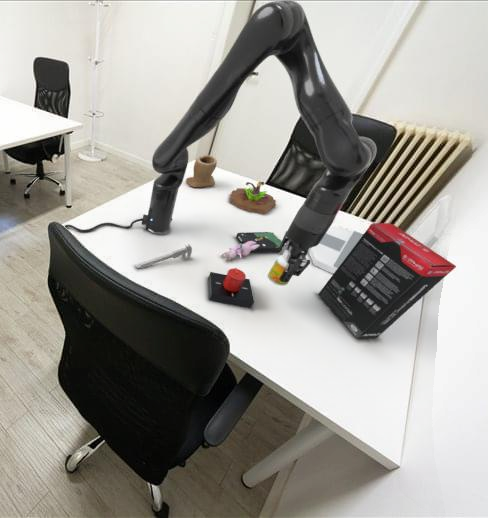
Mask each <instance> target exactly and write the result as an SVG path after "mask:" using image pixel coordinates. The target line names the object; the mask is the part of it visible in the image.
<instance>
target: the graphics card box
mask: <svg viewBox="0 0 488 518" xmlns="http://www.w3.org/2000/svg"><path fill="white" fill-rule="evenodd" d="M362 234H363V236H362V237H361V238H360V240H359V241H358V242H357V244H356V245H355V246H354V248H353V249H352V250H351V252H350V253H349V254H348V256H347V257H346V258H345V260H344V261H343V262H342V264H341V265H340V266H339V267H338V269H337V270H336V271H335V273H334V274H333V273H332V275H331V276H330V278H329V279H328V280H327V281H326V283H325V285H324V286H323V287H322V289H321V290H320V291H319V292H318V296H319V298H320V299H322V300H323V302H324V303H325V304H326V305H327V306H328V307H329V309H330V310H331V311H332V312H333V313H334V315H335V316H337V318H338V319H339V320H340V321H341V323H342V324H343V325H344V326H345V327H346V328H347V330H348V331H349V332H350V333H351V334H352V335H353V337H354V338H356V339H358V340H359V339H377V338H379V337H380V336H381V335H382V334H384V332H386V331H387V329H389V328H390V327H391V326H392V325H393V324H394V323H395V322H397V321H398V320H399V319H400V318H401V317H402V316H403V315H404V314H405V313H406V312H407V311H409V310H410V309H411V308H412V307H413V306H414V305H415V304H417V302H419V301H420V300H421V299H422V298H423V297H424V296H425V295H427V293H429V292H430V291H431V290H432V289H433V288H434V287H435V286H436V285H438V284H439V283H440V282H441V281H442V280H443V279H444V278H446V277H447V276H448V275H449V274H450V273H451V272H452V271H453V270H455V269H456V268H457V266H456V265H455V264H454V263H452V262H451V261H449V260H448V259H446V258H445V257H443V256H442V255H440V254H439V253H438V252H436V251H434V250H432V249H431V248H430V249H429V248H428V247H426V246H425V245H423V244H422V243H420V242H419V241H417V240H416V239H414V238H413V237H411V236H410V235H409V233H407V232H405V230H402V229H401V228H399V227H398V226H397V225H395V224H393V223H389V222H372V223H370V224H369V226H368V228H367V229H366V230H365V232H364V233H362Z"/></svg>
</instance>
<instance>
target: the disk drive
mask: <svg viewBox="0 0 488 518" xmlns="http://www.w3.org/2000/svg"><path fill="white" fill-rule="evenodd" d="M235 239H236V240H237V242H238V244H245V243H246V242H248V241H254V242H256V244H257V245H260V246H259V247H257V248H256V249H254V250H252V251H250V253H249V254H274V253H275V254H277V253H278V254H279V253H280V252H281V251H280V250H279V247H280V244H281V242H282V240H281V239H280V238H278V236H277V235H276V234H275V233H274V232H271V231H257V232H255V231H254V232H248V231H247V232H237V233H236V236H235ZM256 244H253V245H256ZM284 245H285V244H284ZM251 246H252V245H251Z"/></svg>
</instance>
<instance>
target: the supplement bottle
mask: <svg viewBox="0 0 488 518" xmlns="http://www.w3.org/2000/svg"><path fill="white" fill-rule="evenodd" d="M288 253H289V252H288V250H287V249H286V250H285V251H284V253H283V255H280V256H279V255H278V256H277V258H276V259H275V262H274V263H273V265H272V266H271V269H270V270H269V272H268V274H267V279H268V281H270V283H272V284H274V285H277V286H280V287H281V286H282V287H283V286H287V285H288V283H289V282H290V281H291V279H292V277H293V276H294V275H292V277H291V278H290V280H289V281H288V282H281V281H280V280H279V278H280V276H281V275H282V273H283V271H284V270H285V268H286V265H287V262H286V259H287V256H288ZM291 261H295V259H291ZM292 265H293V264H291V266H290V268H291V267H292Z"/></svg>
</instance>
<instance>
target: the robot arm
mask: <svg viewBox="0 0 488 518" xmlns="http://www.w3.org/2000/svg"><path fill="white" fill-rule="evenodd" d="M271 56H274V57H275V58H276V59H277V60H278V62H279V63H281V65H282V66H283V67H284V69H285V72H286V73H287V75H288V77H289V79H290V82H291V87H292V91H293V97H294V101H295V105H296V109H297V111H298V113H299V115H300V117H301V119H302V120H303V122H304V123H305V126H306V127H307V129H308V130H309V132H310V134H311V135H312V136H313V138H314V142H315V146H316V149H317V152H318V154H319V157H320V160H321V163H322V164H323V166H324V168H325V170H324V172H323V174H322V176H321V178H320V179H319V180H318V181H316V183H315V184H314V185H313V187H311V189H310V191H309V193H308V194H307V197H306V198H305V200H304V202H303V203H302V205H301V206H300V208H298V211H297V212H296V214H295V215H294V218H293V219H292V221H291V223H290V225H289V227H288V229H286V231H285V233H284V235H283V237H282V240H281V241H282V242H281V244H280V247H279V250H280V251H281V252H280V253H278V257H279V256H280V255H283V253H284V251H285V250H286V249H287V250H288V252H289V253H288V256H287V259H286V262H287V265H286V268H285V270H284V271H283V273H282V275H281V276H280V278H279V280H280V281H281V282H288V281H289V280H290V281H291V279H292V278H293V276H296V277H300V276H301V275H302V273H303V272H304V271H305V270H306V269H307V268H308V267H309V265H310V264H311V260H310V259H307V257H306V256H308V254H309V251H310V249H311V247H315V246H317V245H318V244H319V243H320V241H321V240H322V238H323V237H324V235H325V234H326V232H327V231H328V229H329V228H330V227H332V224H334V221H335V219H336V217H337V215H338V213H339V211H340V210H341V209H342V207H343V205H344V204H345V203H346V201H347V199H348V197H349V195H350V193H351V191H352V190H353V188H354V187H355V186H356V185H357V184H358V182H359V181H360V180H361V178H362V177H363V175H364V174H365V173H366V172H367V170H368V169H369V168H370V166H371V165H372V163H373V161H374V160H375V158H376V155H377V153H378V152H377V150H378V149H377V145H376V143H375V141H373V139H372V138H369V137H366V136H359V135H358V133H357V131H356V129H355V127H354V125H353V118H354V117H353V113H352V111H351V109H350V107H348V106H349V105H348V104H347V102H346V100H345V99H344V97H343V96H342V94H341V93H340V91H339V89H338V87H337V85H336V84H335V82H334V80H333V79H332V77H331V75H330V73H329V71H328V69H327V68H326V65H325V64H324V61H323V59H322V57H321V54H320V51H319V50H318V47H317V45H316V42H315V39H314V36H313V33H312V29H311V27H310V23H309V21H308V18H307V15H306V12H305V10H304V8H303V7H302V5H301V4H300V3H299V2H298V1H295V0H274V1H270V2H266V3H264V4H263V5H261V6H260V7H258V8H257V9H255V11H254V12H253V13H251V15H250V16H249V18H248V20H247V21H246V23H245V24H244V26H243V27H242V29H241V31H240V32H239V34H238V36H237V37H236V39H235V41H234V43H233V44H232V46H231V47H230V49H229V51H228V52H227V54H226V56H225V58H223V61H222V62H221V64H219V66H218V67H217V69H216V70H215V72H214V73H213V74H212V76H211V77H210V79H209V80H208V81H207V83H206V84H205V85H204V87H203V88H202V89H201V90H200V92H199V93H198V95H197V96H196V97H195V99H194V100H193V102H192V103H191V104H190V105H189V107H188V109H187V110H186V112H185V113H184V114H183V115H182V117H181V119H180V120H179V121H178V122H177V124H176V125H175V126H174V127H173V129H172V131H171V132H170V133H169V134H168V135H167V136H166V137H165V138H164V140H163V141H162V142H161V143H160V144H159V145H158V146H157V147H156V149H155V150H154V152H153V155H152V158H151V165H152V168H153V170H154V171H155V172H156V173H158V174H160V175H159V176H158V177H156V178H155V179H154V181H153V184H152V191H151V196H150V201H149V207H148V213H147V214H145V213H144V214H143V215H142V217H141V218H138V219H137V218H136V219H135V220H133V221H131V222H130V225H126V226H123V225H120V224H116V223H113V222H103V223H99V224H97V225H95V226H93V227H90V228H86V229H82V228H78V227H76V226H74V225H72V224H65V225H64V226H65V227H66V228H71V229H73V230H75V231H77V232H81V233H88V232H91V231H94V230H96V229H97V228H100V227H103V226H111V227H116V228H119V229H125V230H126V229H131V228H132V227H133V225H135V224H136V223H139V222H141V225H144V226H145V231H148V232H149V233H151V234H154V235H158V236H159V235H166V234H168V233H169V232H170V228H171V223H172V221H173V215H174V210H175V206H176V202H177V197H178V193H179V188H180V187H181V186H182V184H183V181H184V178H185V174H186V172H187V168H188V163H189V150H188V147H190V146H192V145H193V144H194V143H196V142H198V141H199V140H201V139H202V138H203V137H205V136H206V135H208V134H210V132H212V131H213V130H214V129H215V128H216V127H217V126H218V124H219V123H221V121H222V120H223V119H224V117H226V115H227V114H228V113H229V112H230V111H231V109H232V107H233V105H234V103H235V101H236V98H237V95H238V93H239V90H240V88H241V87H242V85H243V84H244V82H246V80H247V79H248V78H249V77H250V75H251V74H252V73H254V71H255V70H256V69H257V68H258V67H259V66H260V65H261V64H262V63H263V62H264V61H265V60H266V59H267V58H269V57H271ZM284 244H285V245H284ZM291 259H295V261H291ZM291 264H293V265H292V267H291V268H290V266H291ZM292 275H293V276H292ZM290 278H291V279H290ZM290 281H289V282H290ZM289 282H288V283H289Z"/></svg>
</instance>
